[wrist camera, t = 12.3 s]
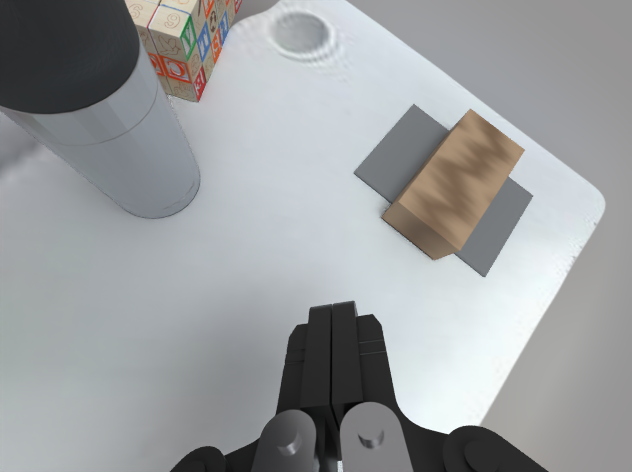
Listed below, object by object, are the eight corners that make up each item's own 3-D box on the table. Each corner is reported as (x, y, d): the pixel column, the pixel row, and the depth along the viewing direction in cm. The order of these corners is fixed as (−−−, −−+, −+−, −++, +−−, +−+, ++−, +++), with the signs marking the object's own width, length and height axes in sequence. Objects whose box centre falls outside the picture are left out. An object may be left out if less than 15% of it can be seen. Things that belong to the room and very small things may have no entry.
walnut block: (398, 201, 32) (470, 108, 37) (381, 217, 37) (447, 133, 42) (459, 250, 31) (525, 150, 36) (434, 260, 36) (495, 170, 41)
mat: (353, 173, 38) (354, 172, 38) (412, 105, 42) (413, 103, 42) (483, 277, 37) (485, 276, 37) (531, 196, 41) (533, 195, 41)
